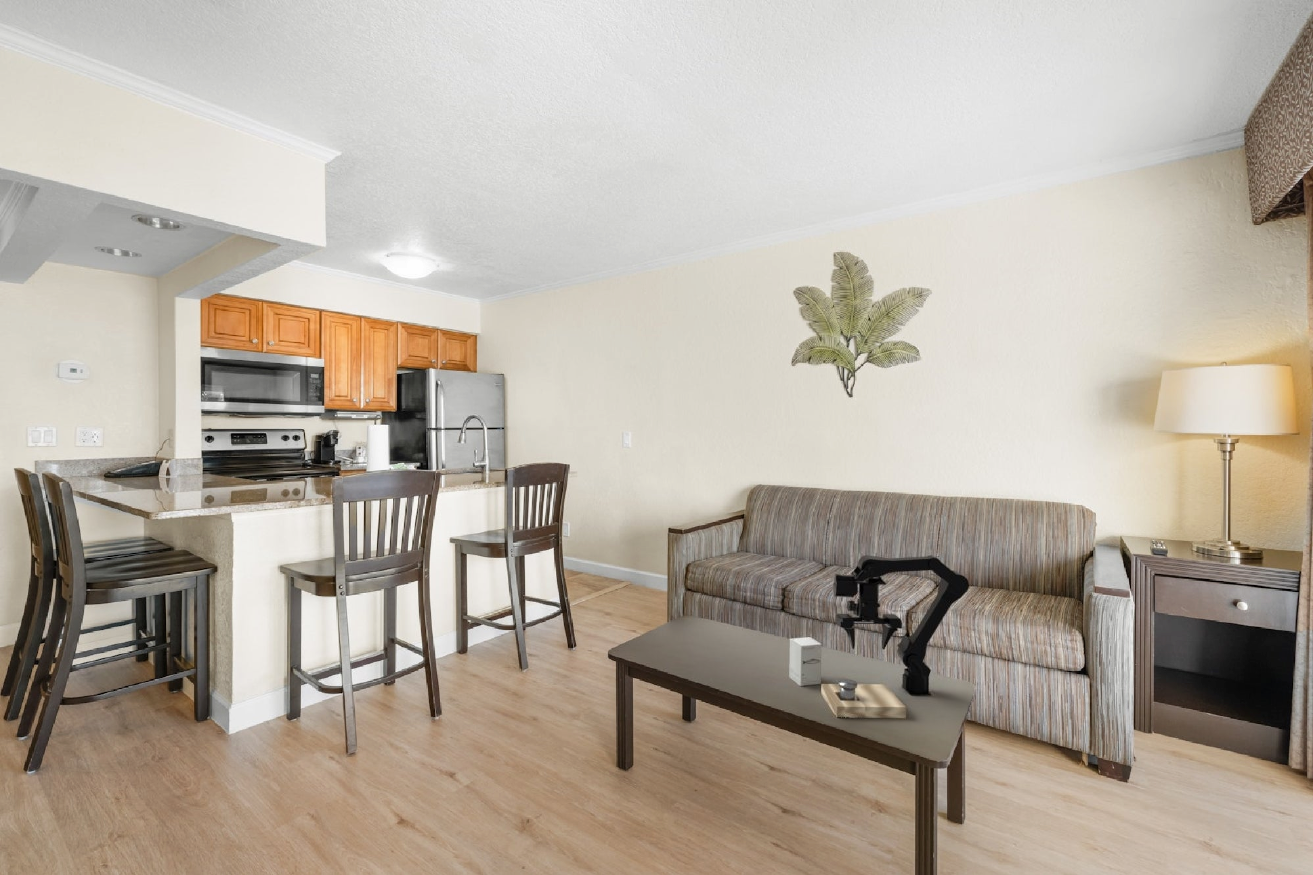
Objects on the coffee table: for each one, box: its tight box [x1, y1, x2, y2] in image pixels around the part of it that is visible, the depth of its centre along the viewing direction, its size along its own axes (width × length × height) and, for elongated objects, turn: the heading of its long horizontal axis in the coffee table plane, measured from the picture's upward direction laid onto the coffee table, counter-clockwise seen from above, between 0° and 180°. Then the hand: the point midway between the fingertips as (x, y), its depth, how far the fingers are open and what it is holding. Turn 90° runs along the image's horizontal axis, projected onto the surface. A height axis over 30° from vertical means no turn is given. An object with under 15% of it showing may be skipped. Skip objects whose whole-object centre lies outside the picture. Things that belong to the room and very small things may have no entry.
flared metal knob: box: [837, 678, 858, 701], centre depth 169 cm, size 5×5×7 cm
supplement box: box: [788, 636, 822, 687], centre depth 187 cm, size 7×7×13 cm
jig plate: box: [820, 683, 907, 719], centre depth 170 cm, size 19×15×3 cm
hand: (868, 648), depth 182 cm, fingers open, 9 cm apart
